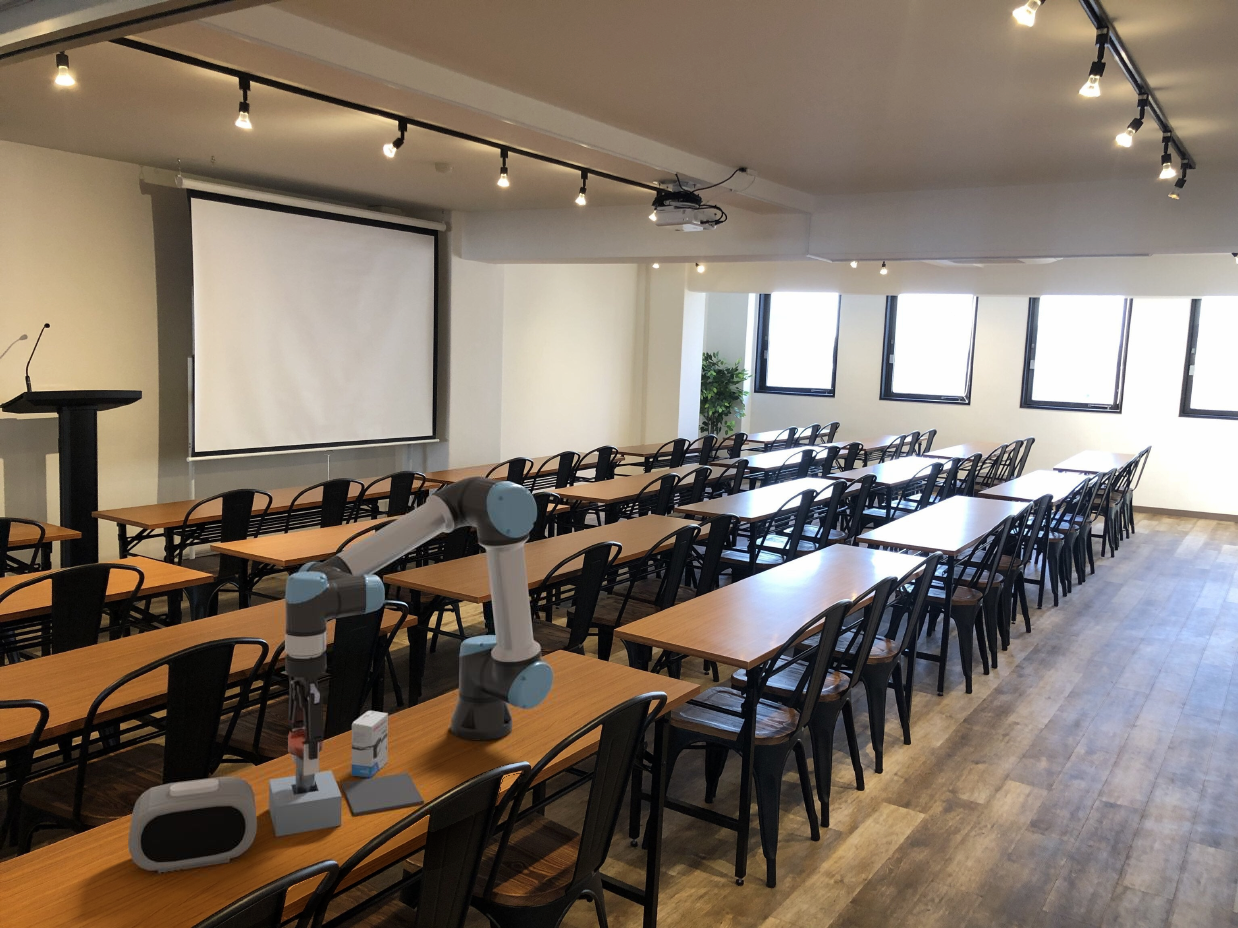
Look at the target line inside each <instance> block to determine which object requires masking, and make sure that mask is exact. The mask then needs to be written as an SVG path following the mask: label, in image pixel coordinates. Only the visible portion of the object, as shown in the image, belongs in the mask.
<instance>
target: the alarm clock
mask: <svg viewBox="0 0 1238 928" xmlns="http://www.w3.org/2000/svg"><path fill="white" fill-rule="evenodd" d="M257 819H258V818H257V808H256V798H255V792H254V789H253V787H252V785H251V784H250V783H249V782H248V781H247V780H245V779H244V778H241V777H239V776H218V777H217V776H216V777H208V778H202V779H194V780H186V781H177V782H169V783H165V784H161V785H157V786H153V787H152V786H151V787H150V788H149V789H147V790H145V791H144V792H143V793H141V795H140V796H139V797H138V799H137V800H136V801H135V804H134V807H133V810H132V814H131V819H130V820H131V821H130V825H129V833H128V839H127V840H128V842H127V845H128V852H129V855H130V857H131V860H132V861H133V862H134V863H135V864H136V865H137V866H138V868H141V869H144V870H146V871H150V872H151V871H157V873H158V874H162V873H161V872H164V873H167V872H166V871H171V872H175V871H174V870H177V871H181V870H180V869H183V870H188V869H194V868H201V867H206V866H207V867H208V866H212V865H213V866H214V865H218V864H225V863H230V861H231V859H234V858H238V857H239V856H241V855H243V854H244V853H245V852H246V851H248V849H249V848H250V846H252V844H253V842H254V840H255V837H256V834H257V828H258V821H257ZM193 867H194V868H193Z"/></svg>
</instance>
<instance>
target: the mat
mask: <svg viewBox="0 0 1238 928" xmlns="http://www.w3.org/2000/svg"><path fill="white" fill-rule="evenodd" d="M341 787H342V789H343V791H344V792H343V793H344V794H345V797H346V800H347V803H349V806H350V809H351V811H352V814H353V816H361V815H365V814H370V813H377V812H382V811H389V810H395V809H400V808H406V807H411V806H417V805H423V804H425V800H424V799H423V797H422V795H421V793H420V792H419V790H418V788H417V787H416V785H415V783H414V780H413V779H412V778H411V776H410V774H409V772H402V773H397V774H396V773H395V774H389V775H384V776H382V775H381V776H376V777H371V778H365V779H363V778H362V779H359V780H352V781H351V780H350V781H346V782H345V781H344V782H341Z"/></svg>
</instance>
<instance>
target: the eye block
mask: <svg viewBox="0 0 1238 928" xmlns="http://www.w3.org/2000/svg"><path fill="white" fill-rule="evenodd" d="M333 773H334V772H333V771H332V770H326V771H319V773H315V792H308V793H302V794H296V775H292V776H284V777H279V778H278V777H277V778H272V779H269V781H268V782H269V783H268V785H269V786H268V789H269V790H268V794H269V795H268V800H269V801H268V808H269V812H270V813H269V814H270V817H271V822H272V827H273V829H274V835H275V837H276V838H278V837H283V836H288V835H294V834H300V833H305V832H311V831H316V830H323V829H328V828H334V827H338V826H339V827H340V826H342V808H343V807H342V805H343V804H342V803H343V802H342V801H343V800H342V793H341V791H340V789H339V788H340V787H339V786H338V783H337V781H336V779H335V775H334V774H333Z"/></svg>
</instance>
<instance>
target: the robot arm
mask: <svg viewBox="0 0 1238 928" xmlns="http://www.w3.org/2000/svg"><path fill="white" fill-rule="evenodd" d="M537 517H538V509H537V503H536V500H535V497H534V496H533V494H532V493H531V491H530V490H528V489H527V488H526V487H524V486H523V485H520V484H517V483H515V482H512V481H508V480H500V479H495V478H494V479H493V478H491V477H490V478H489V477H485V476H480V475H478V476H477V475H476V476H469V477H466V478H463V479H461V480H458V481H455V482H453V483H451V484H449V485H447V486H445V487H443V488H440V489H439V490H437V491H435V492H434V493H432V494H431V495H428V496H427V498H426V501H425V503H423V504H422V505H420V506H418V507H417V508H415V509H413V510H411V511H410V512H408V513H407V514H405V515H403V516H401V517H400V518H398V519H396V520H394V521H393V522H390V523H388V524H387V525H386V526H384V527H382V528H380V529H379V530H377V531H375V532H374V533H372V534H369V535H368V536H367V537H365V538H363V539H362V540H360V541H358V542H357V543H354V544H353V545H351V546H350V547H348V548H346V549H344V550H342V551H340V552H339V553H337V554H336V555H333V556H332V557H330V558H329V559H326V560H325V561H323V562H320V561H310V562H307V563H305V564H303V565H302V566H301V567H300V568H299V570H298V571H297V572H295V573H292V574H291V575H290V576H288V577H287V579H286V586H285V594H284V595H285V596H284V602H285V632H284V635H285V637H284V651H285V653H286V655H285V661H284V663H285V667H284V668H285V669H284V670H285V671H284V672H285V673H286V675H287V676H288V681H289V683H288V684H289V689H288V690H289V691H288V694H289V695H288V717H287V720H288V721H289V722H290V725H291V728H292V731H295V730H298V729H302V728H305V737H306V741H302V744H303V745H304V775H305V776H306V775H311V774H315V773H319V772H320V752H319V742H323V743H324V697H325V695H324V693H325V692H324V691H323V690H321V691H320V683H319V681H318V677H319V676H320V675H323V674H324V673H325V672H326V670H327V653H326V652H325V651H326V650H327V638H329V635H330V634H329V633H328V632H327V628H328V627H327V624H328V620H334V619H338V618H345V617H350V616H356V615H363V614H364V615H366V614H367V613H371V612H375V611H379V609H381V608H382V606H383V605H384V602H385V597H386V596H385V586H384V583H383V581H382V579H381V578H380V577H379V576H378V575H376V574H374V573H376V572H378V571H379V570H381V569H382V568H384V567H386V566H388V565H389V564H391V563H393V562H394V561H396V560H397V559H399V558H401V557H402V556H404V555H406V554H408V553H410V552H411V551H412V550H414V549H416V548H417V547H419V546H421V545H422V544H424V543H426V542H427V541H429V540H431V539H433V538H434V537H436V536H437V535H440V534H441V533H451V532H453V531H454V530H456V529H458V528H461V527H467V526H469V527H474V528H476V532H477V533H476V535H477V541H478V542H477V543H478V544H479V546H481V547H483V548H485V554H486V560H487V561H486V562H487V570H488V578H489V589H490V596H491V605H492V614H493V623H494V624H493V625H494V631H495V632H494V633H495V635H494V634H488V635H486V634H485V635H477V636H472V637H468V638H467V639H464V640H463V641H462V642H461V644H460V650H459V656H458V658H459V672H458V673H459V676H458V677H459V678H458V680H459V681H458V682H459V683H458V700H457V702H456V705H455V708H454V710H453V714H452V717H451V720H450V731H451V733H452V734H453V735H455V736H456V737H459V738H461V739H465V740H471V741H491V740H496V739H500V738H503V737H505V736H508V735H509V734H510V733H511V732H512V731H513V717H512V713H511V710H510V706H513V707H514V708H515V707H517V708H520V709H521V710H530V709H534V708H536V707H538V706H539V705H541V703H542V702H544V700H545V699H546V698H547V696H548V695H549V693H550V691H551V690H552V687H553V684H554V672H553V669H552V667H551V666H550V665H549V664H548V663H547V662H546V661H543V658H542V647H541V645H540V643H538V642H537V641H536V640H534V634H533V623H532V615H531V613H532V612H531V605H530V594H529V585H528V575H527V567H526V555H525V548H524V545H525V543H526V542H527V541H528V540H529V538H530V531H531V530H532V529H533V528H534V523H535V522H536V521H537ZM509 705H510V706H509ZM291 760H292V762H293V763H296V756H295V755H292V754H291Z"/></svg>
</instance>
